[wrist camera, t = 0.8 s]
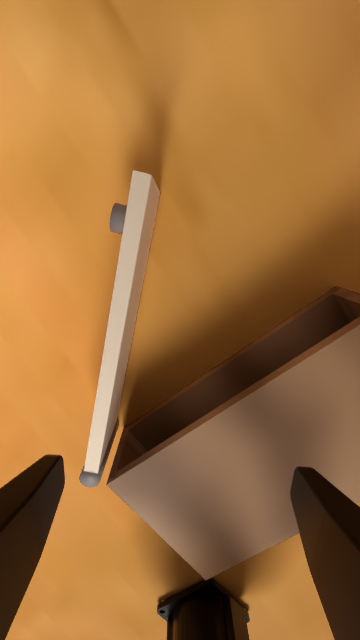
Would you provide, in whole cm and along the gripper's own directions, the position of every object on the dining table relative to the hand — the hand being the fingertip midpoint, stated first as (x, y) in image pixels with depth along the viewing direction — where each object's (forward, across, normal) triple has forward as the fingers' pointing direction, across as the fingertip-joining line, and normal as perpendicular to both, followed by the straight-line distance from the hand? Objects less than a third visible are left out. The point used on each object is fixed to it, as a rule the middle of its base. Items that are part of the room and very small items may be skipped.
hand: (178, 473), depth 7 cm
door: (+12, +4, 0) cm, 13 cm away
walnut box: (+12, -6, +6) cm, 15 cm away
